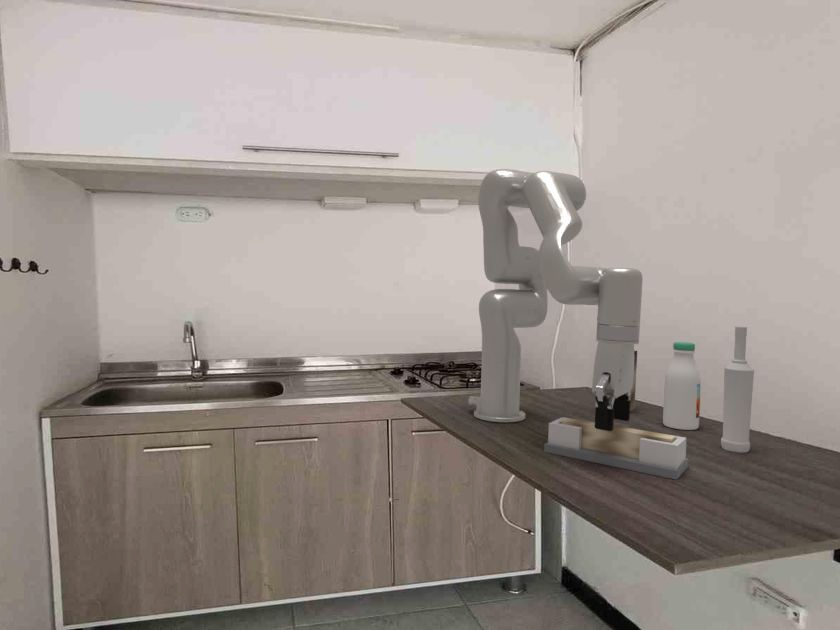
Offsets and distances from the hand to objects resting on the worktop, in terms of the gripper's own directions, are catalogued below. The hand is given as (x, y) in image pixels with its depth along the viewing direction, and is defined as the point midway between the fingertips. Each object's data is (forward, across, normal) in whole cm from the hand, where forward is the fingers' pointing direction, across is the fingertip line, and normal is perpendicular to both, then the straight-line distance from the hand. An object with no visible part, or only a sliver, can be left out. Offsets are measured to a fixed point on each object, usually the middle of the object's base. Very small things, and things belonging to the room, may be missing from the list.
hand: (612, 424), depth 103 cm
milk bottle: (+7, -36, +5) cm, 37 cm away
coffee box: (+7, -44, -12) cm, 46 cm away
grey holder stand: (+6, 0, +1) cm, 6 cm away
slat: (+5, 0, +1) cm, 5 cm away
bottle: (+6, -23, +18) cm, 30 cm away
